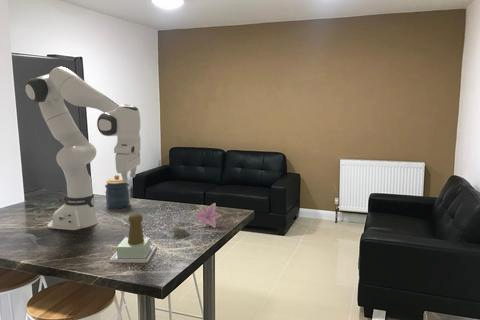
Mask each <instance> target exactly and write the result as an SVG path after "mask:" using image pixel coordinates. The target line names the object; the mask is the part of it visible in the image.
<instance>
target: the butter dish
mask: <svg viewBox="0 0 480 320" xmlns="http://www.w3.org/2000/svg"><path fill="white" fill-rule="evenodd" d="M128 237H129V236H128ZM128 237H127V236H125V237H124V238H123V239H122V240H121V242H119V244H118V245H117V246H116V252H115V253H114V254H113V255H112V256H111V258H110V259H109V261H110V263H130V264H131V263H133V264H134V263H135V264H136V263H138V264H139V263H142V264H143V263H144V264H145V263H147V264H148V263H149V261H150V259H151V258H152V256H153V255H154V253H155V251H156V250H157V249H158V246H157V245H156V244H151V238H150V237H143V238H144V242H143V243H141V244H138V245H132V244H129V243H128Z"/></svg>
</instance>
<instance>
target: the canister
mask: <svg viewBox="0 0 480 320" xmlns="http://www.w3.org/2000/svg"><path fill="white" fill-rule="evenodd" d="M129 186H130V183H129V182H127V183H123V178H122V177H120V175H119V174H115V175H114V177H111V178H109V179H108V180H106V184H105V185H104V187H105V191H104V193H105V205H106V207H107V208H109V209H112V210H114V209H123V208H128V207H129V206H130V205H131V199H130V198H131V197H130V188H129Z"/></svg>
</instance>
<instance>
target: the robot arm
mask: <svg viewBox="0 0 480 320" xmlns="http://www.w3.org/2000/svg"><path fill="white" fill-rule="evenodd" d="M24 90H25V94H26V96H27V98H28V99H29V100H30V101H32V102H33V103H38V107H39V110H40V112H41V115H42V117H43V119H44V121H45V123H46V125H47V127H48V129H49V130H50V133H51V134H52V137H53V138H54V139H55V140H57V141H59V143H61V144H62V146H63V147H62V148H61V149H59V151H58V152H57V154H56V157H55V159H56V163H57V164H58V167H60V168H61V170H62V171H63V173H64V177H65V181H66V189H67V190H66V191H67V195H66V196H65V197H64V198H63V199H62V202H64V204H63V205H61V206H60V207H59V208H58V209H57V210H55V211H54V212H53V214H52V217H51V221H49V222H48V223H47V228H48V229H55V230H56V229H57V230H65V231H66V230H68V231H77V230H80V229H85V228H89V227H92V226H94V225H95V226H96V225H97V224H98V223H99V220H98V217H97V214H96V210H95V195H94V193H93V192H94V191H93V181H92V180H93V179H92V176H91V175H90V174H89V172H88V169H87V165H89V164H91V163H92V161H93V160H94V159H95V157H97V148H96V147H95V146H94V144H93V143H91V142H89V140H88V139H87V137H85V136H84V134H83V133H82V132H81V130H80V129H79V127H78V126H77V124H76V122H75V120H74V119H73V116H72V114H71V113H70V111H69V109H68V108H67V106H66V103H65V102H68V103H69V104H71V105H72V106H76V107H81V108H83V107H84V108H89V109H90V108H91V109H95V110H99V111H101V112H102V113H101V114H100V115H99V116H98V118H97V120H96V126H97V127H96V128H97V131H99V133H100V134H101V135H103V136H106V137H115V136H117V142H116V145H115V147H114V148H113V153H114V154H115V159H114V160H115V169H116V173H117V174H120V175H121V178H123V183H129V177H130V178H132V179H133V178H135V177H136V172H137V167H138V166H139V165H141V135H140V131H141V115H140V110H139V108H138V107H137V106H134V105H131V104H120V105H119V104H117V103H116V102H114V101H113V100H112V99H111V98H109V97H108V96H106V95H105V94H103V93H102V92H101V91H98V90H97V89H96V88H94V87H93V86H92V85H90V84H88V83H87V82H86V81H85V80H84V79H82V78H81V77H80V76H79V75H77V74H76V73H75V72H74V71H72V70H70V69H68V68H66V67H64V66H56V67H55V68H53V69H52V70H50V72H49V73H46V74H44V75H40V76H38V77H33V78H30V79H28V80H27V81H26V82H25V85H24ZM64 100H65V101H64ZM129 172H130V173H129ZM128 173H129V177H128Z"/></svg>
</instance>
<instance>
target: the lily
mask: <svg viewBox="0 0 480 320" xmlns="http://www.w3.org/2000/svg"><path fill="white" fill-rule="evenodd" d="M216 207H217V205H216V202H213V203H212V204H211V205H209V206H208V207H206V206H205V205H203V204H201V205H200V208H201V209H200V211H199V212H196V213H194V214H193V215H192V217H194V218H196V219H198V220H201V222H200V228H203V227H204V226H206V225H207V224H208V225H209V226H211V227H212V228H216V226H217V224H216V219H217V218H220V217H222V214H221V213H218V212H216Z"/></svg>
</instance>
